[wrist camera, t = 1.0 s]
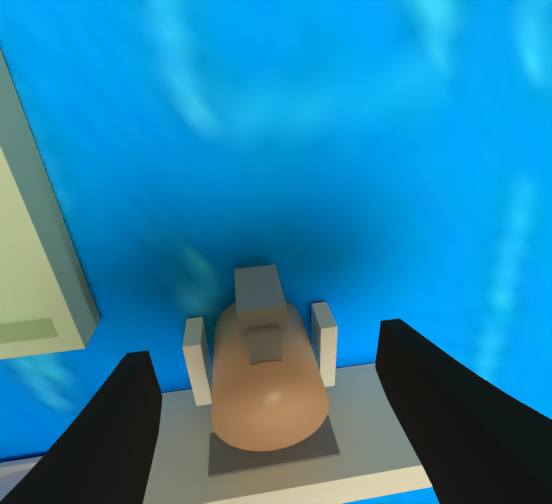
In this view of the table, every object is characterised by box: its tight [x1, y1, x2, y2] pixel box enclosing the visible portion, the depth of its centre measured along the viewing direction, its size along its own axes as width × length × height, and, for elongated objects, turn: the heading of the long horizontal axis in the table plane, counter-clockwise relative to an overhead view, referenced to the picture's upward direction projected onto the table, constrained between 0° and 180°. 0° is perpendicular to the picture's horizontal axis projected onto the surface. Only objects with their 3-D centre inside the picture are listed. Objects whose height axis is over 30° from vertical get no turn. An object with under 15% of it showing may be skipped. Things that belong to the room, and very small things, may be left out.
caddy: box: [211, 264, 329, 451], centre depth 15 cm, size 5×7×5 cm, turn 3°
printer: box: [143, 302, 432, 504], centre depth 16 cm, size 18×7×6 cm, turn 93°
